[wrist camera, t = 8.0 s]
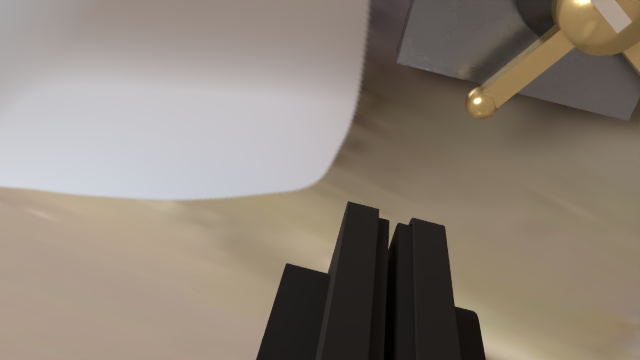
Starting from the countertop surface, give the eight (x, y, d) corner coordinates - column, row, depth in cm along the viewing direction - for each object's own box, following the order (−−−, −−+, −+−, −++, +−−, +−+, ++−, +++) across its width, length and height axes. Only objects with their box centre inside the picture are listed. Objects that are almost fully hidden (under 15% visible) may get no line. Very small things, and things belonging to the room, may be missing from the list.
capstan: (831, 2, 30) (886, 17, 27) (551, 194, 37) (567, 226, 33) (642, -276, 26) (678, -301, 23) (367, -6, 33) (363, 7, 30)
